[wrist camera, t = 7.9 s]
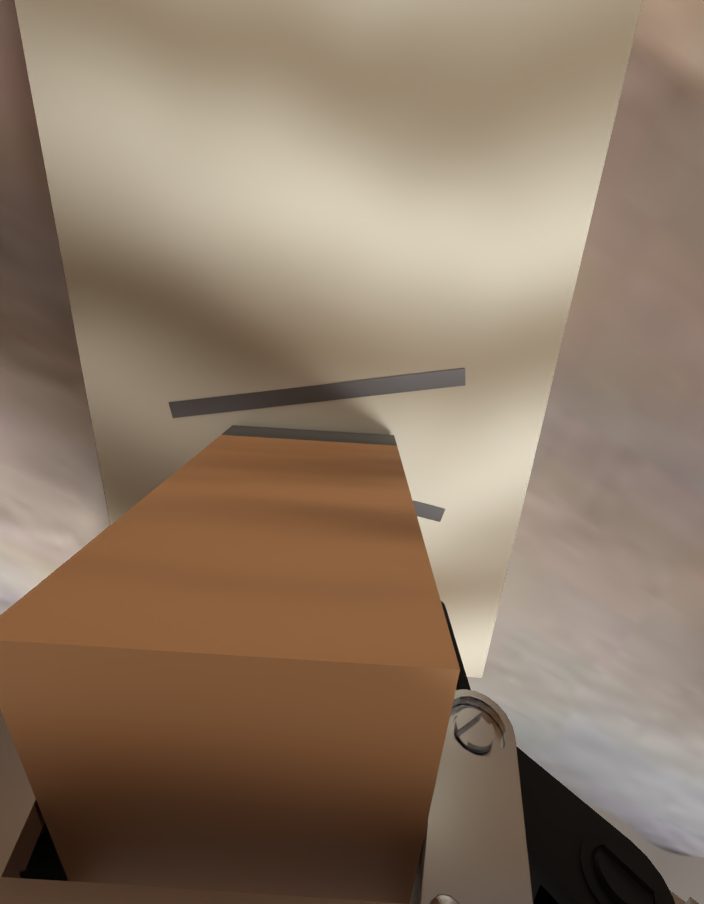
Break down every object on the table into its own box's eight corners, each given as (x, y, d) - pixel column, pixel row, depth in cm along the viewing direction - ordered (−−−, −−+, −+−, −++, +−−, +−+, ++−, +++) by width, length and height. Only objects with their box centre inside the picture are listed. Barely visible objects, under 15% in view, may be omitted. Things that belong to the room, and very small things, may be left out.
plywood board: (2, -365, 7) (-84, -530, 6) (681, -327, 7) (759, -484, 6) (154, 626, 16) (133, 655, 15) (471, 646, 16) (482, 678, 15)
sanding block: (232, 425, 11) (-28, 638, 4) (394, 435, 11) (460, 669, 4) (244, 625, 14) (108, 980, 6) (374, 633, 14) (389, 999, 6)
